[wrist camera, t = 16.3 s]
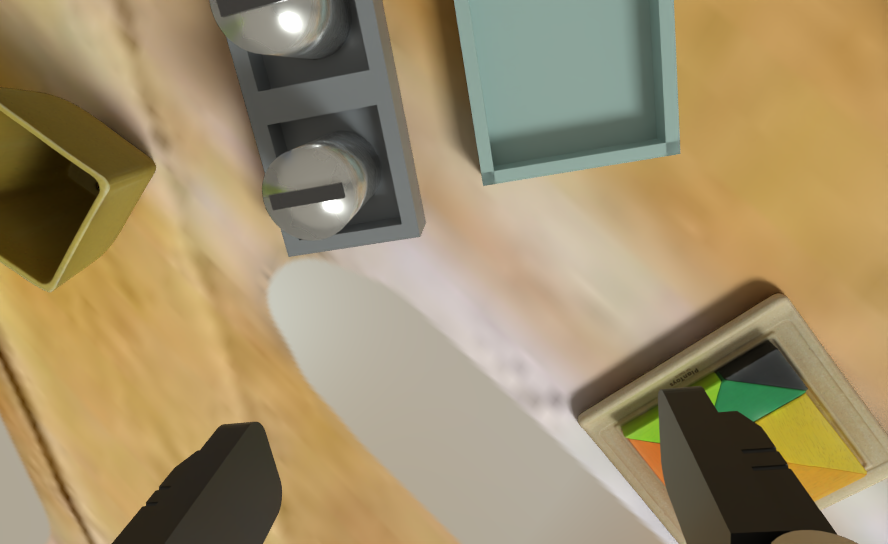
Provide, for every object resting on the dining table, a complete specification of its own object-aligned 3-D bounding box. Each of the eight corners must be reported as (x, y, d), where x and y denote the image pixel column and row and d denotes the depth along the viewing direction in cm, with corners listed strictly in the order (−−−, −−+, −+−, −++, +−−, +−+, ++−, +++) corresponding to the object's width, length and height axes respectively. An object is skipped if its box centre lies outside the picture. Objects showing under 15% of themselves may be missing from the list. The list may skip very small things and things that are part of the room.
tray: (654, -99, 32) (668, -113, 30) (666, 147, 37) (680, 153, 34) (447, -53, 34) (444, -63, 31) (483, 177, 39) (483, 185, 36)
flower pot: (31, 176, 41) (-87, 206, 33) (81, 76, 38) (-35, 79, 30) (137, 250, 43) (49, 296, 34) (192, 158, 40) (112, 183, 31)
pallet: (224, -51, 35) (198, -62, 32) (365, -84, 34) (352, -99, 31) (304, 241, 41) (288, 256, 38) (425, 222, 40) (420, 236, 37)
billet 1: (338, -40, 34) (290, -76, 26) (360, 49, 35) (321, 40, 27) (260, -19, 34) (190, -47, 27) (285, 67, 36) (225, 64, 28)
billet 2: (372, 124, 37) (339, 141, 29) (388, 199, 38) (362, 234, 31) (298, 138, 38) (248, 158, 30) (318, 211, 39) (275, 248, 31)
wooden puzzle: (773, 279, 40) (798, 299, 37) (899, 458, 44) (932, 490, 41) (568, 408, 45) (574, 436, 42) (699, 558, 49) (714, 594, 46)
